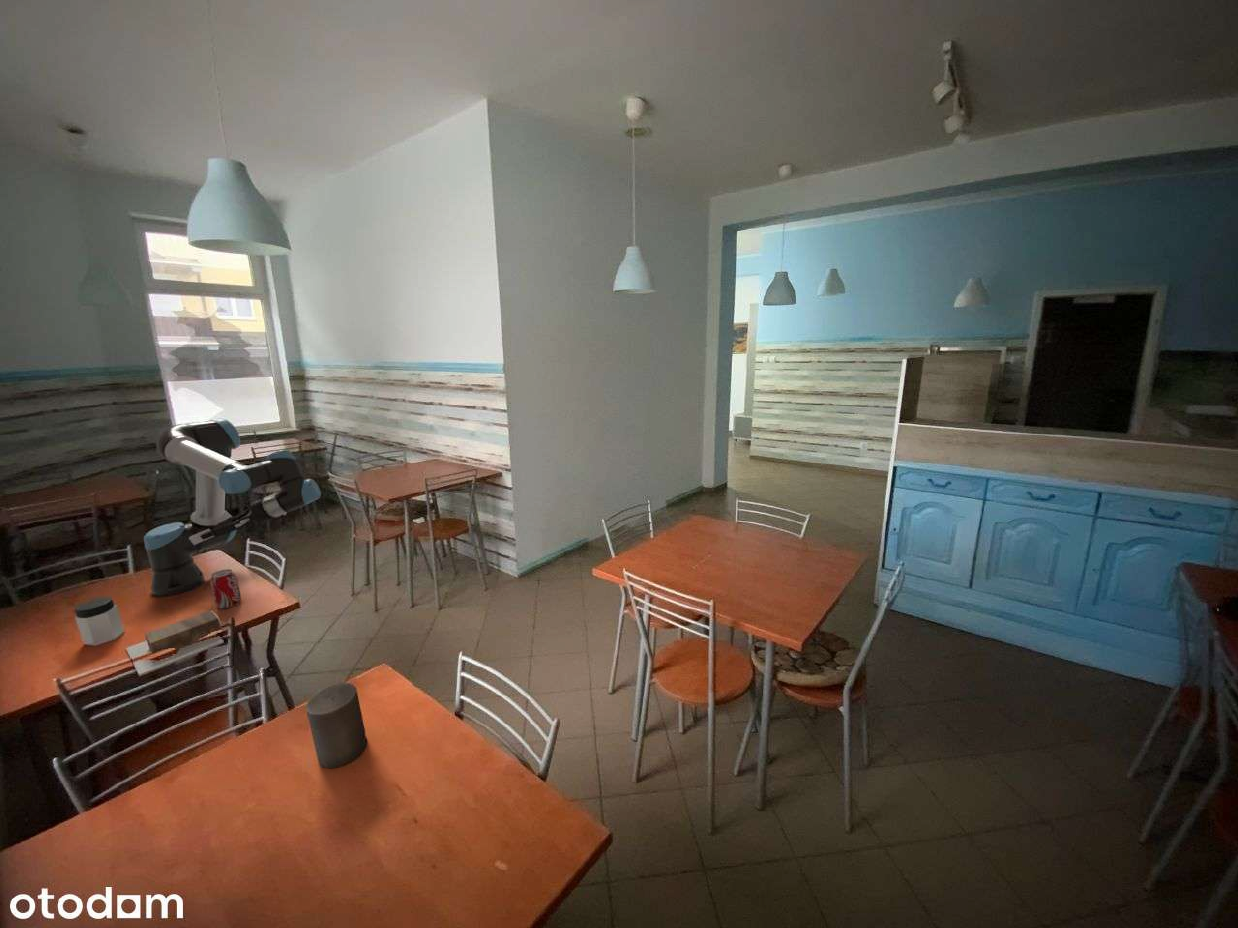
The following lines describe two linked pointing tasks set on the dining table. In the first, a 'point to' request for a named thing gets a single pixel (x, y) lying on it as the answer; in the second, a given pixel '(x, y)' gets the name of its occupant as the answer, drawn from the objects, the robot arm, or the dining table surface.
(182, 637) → the walnut block
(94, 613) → the jar
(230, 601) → the soda can
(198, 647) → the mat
